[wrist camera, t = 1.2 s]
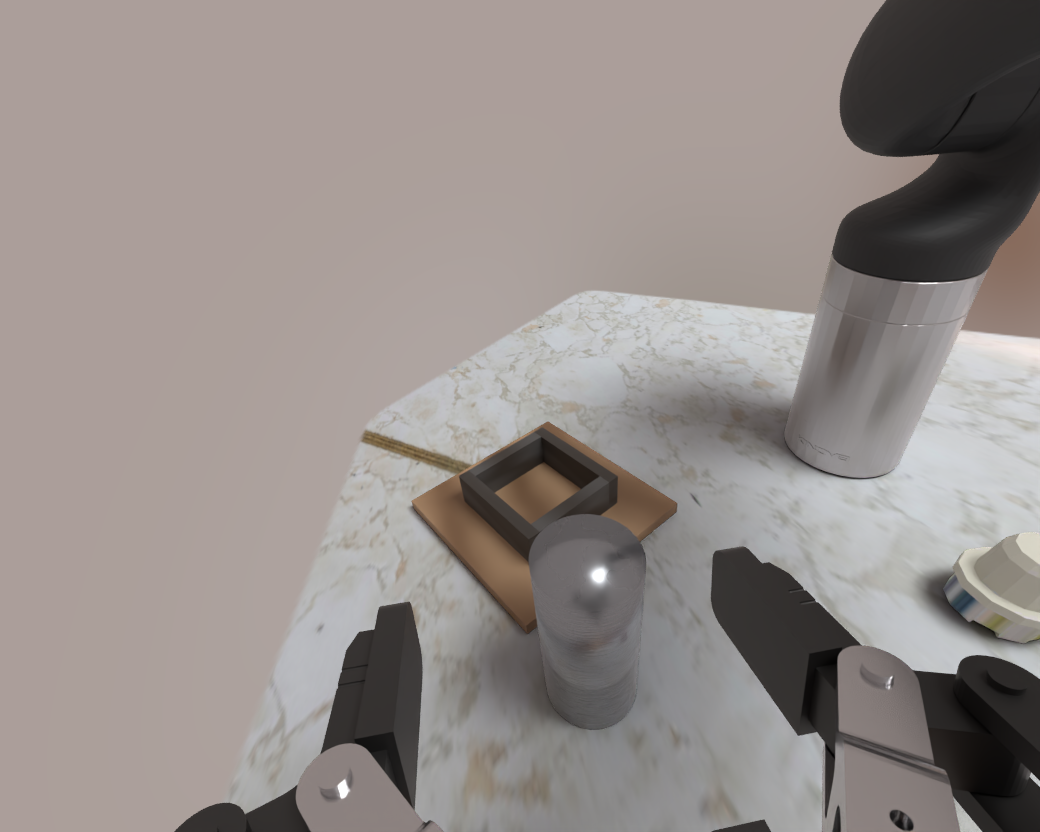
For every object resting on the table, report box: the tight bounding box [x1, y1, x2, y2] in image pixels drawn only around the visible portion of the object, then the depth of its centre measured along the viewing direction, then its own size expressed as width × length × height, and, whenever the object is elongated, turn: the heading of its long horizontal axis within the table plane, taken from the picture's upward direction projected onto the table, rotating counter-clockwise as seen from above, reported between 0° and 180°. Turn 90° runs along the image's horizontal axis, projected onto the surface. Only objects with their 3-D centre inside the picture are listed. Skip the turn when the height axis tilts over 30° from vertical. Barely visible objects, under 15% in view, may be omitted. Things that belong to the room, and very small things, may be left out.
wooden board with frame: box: [412, 422, 677, 634], centre depth 42 cm, size 16×16×4 cm
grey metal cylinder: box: [529, 514, 646, 729], centre depth 28 cm, size 6×6×12 cm
